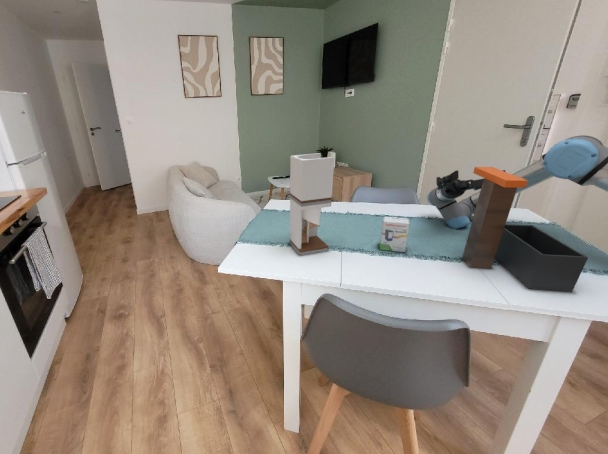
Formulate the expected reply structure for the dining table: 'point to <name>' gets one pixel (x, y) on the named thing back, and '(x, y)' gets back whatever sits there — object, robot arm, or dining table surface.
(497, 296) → the dining table surface
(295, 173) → the white coffee grinder
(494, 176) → the orange plank
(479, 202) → the post
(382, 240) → the ink box
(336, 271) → the dining table surface
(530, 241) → the trash bin
